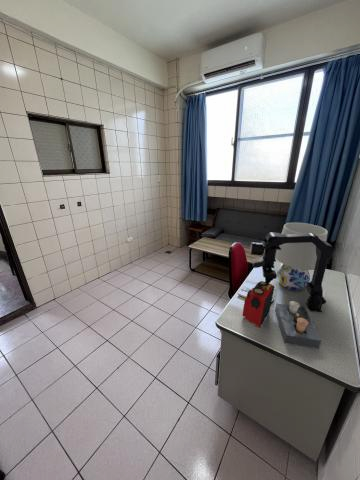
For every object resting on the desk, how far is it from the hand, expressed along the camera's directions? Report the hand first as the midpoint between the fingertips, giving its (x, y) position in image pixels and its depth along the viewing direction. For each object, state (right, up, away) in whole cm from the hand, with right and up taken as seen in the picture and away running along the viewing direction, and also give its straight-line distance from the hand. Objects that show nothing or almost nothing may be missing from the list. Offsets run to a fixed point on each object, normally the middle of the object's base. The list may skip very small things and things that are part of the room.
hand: (265, 280), depth 115 cm
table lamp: (+26, -7, +21) cm, 35 cm away
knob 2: (+8, -20, -20) cm, 29 cm away
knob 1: (+10, -15, -9) cm, 21 cm away
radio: (-8, -18, -6) cm, 21 cm away
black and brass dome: (+9, -17, -15) cm, 24 cm away
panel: (+9, -21, -13) cm, 27 cm away
